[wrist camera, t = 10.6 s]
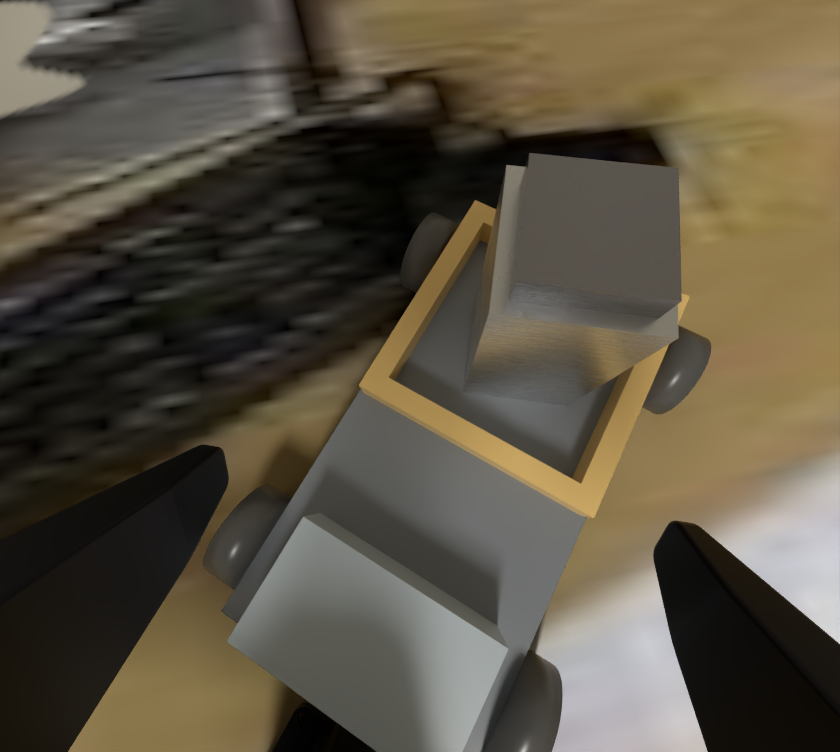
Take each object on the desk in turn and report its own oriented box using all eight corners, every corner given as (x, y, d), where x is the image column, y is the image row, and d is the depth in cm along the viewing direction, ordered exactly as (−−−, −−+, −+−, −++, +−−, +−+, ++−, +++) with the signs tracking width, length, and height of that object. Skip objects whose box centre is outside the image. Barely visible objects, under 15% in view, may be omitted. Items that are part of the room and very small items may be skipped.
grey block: (566, 406, 19) (703, 322, 9) (463, 391, 19) (494, 296, 10) (571, 312, 20) (697, 155, 11) (475, 300, 21) (513, 137, 11)
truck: (493, 762, 18) (519, 878, 12) (226, 576, 20) (153, 607, 15) (673, 343, 23) (746, 299, 18) (443, 235, 25) (447, 168, 20)
